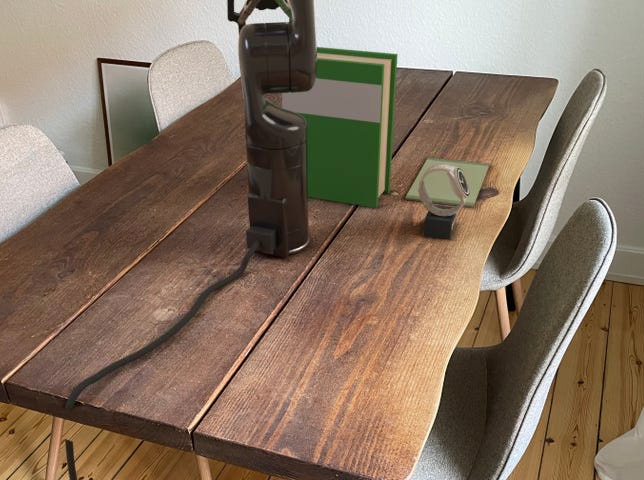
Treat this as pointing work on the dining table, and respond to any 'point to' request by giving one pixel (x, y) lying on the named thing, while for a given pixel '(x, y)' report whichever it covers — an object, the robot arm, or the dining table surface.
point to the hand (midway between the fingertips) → (268, 42)
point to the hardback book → (349, 125)
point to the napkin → (441, 185)
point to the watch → (443, 217)
